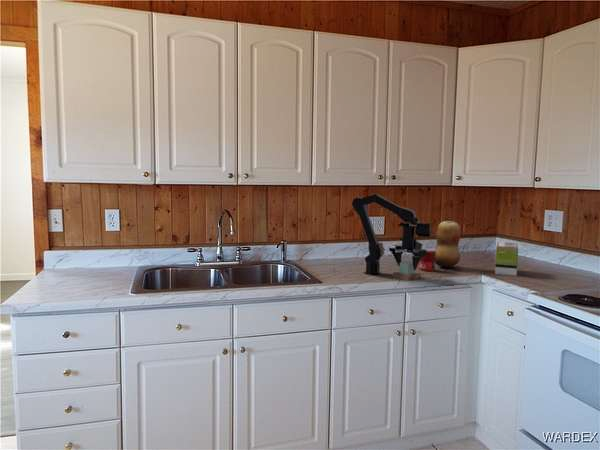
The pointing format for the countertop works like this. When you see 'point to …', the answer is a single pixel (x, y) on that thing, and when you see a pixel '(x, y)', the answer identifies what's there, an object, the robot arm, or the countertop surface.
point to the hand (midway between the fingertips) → (407, 268)
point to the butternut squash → (447, 244)
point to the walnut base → (406, 276)
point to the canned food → (428, 260)
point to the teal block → (406, 268)
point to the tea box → (506, 258)
